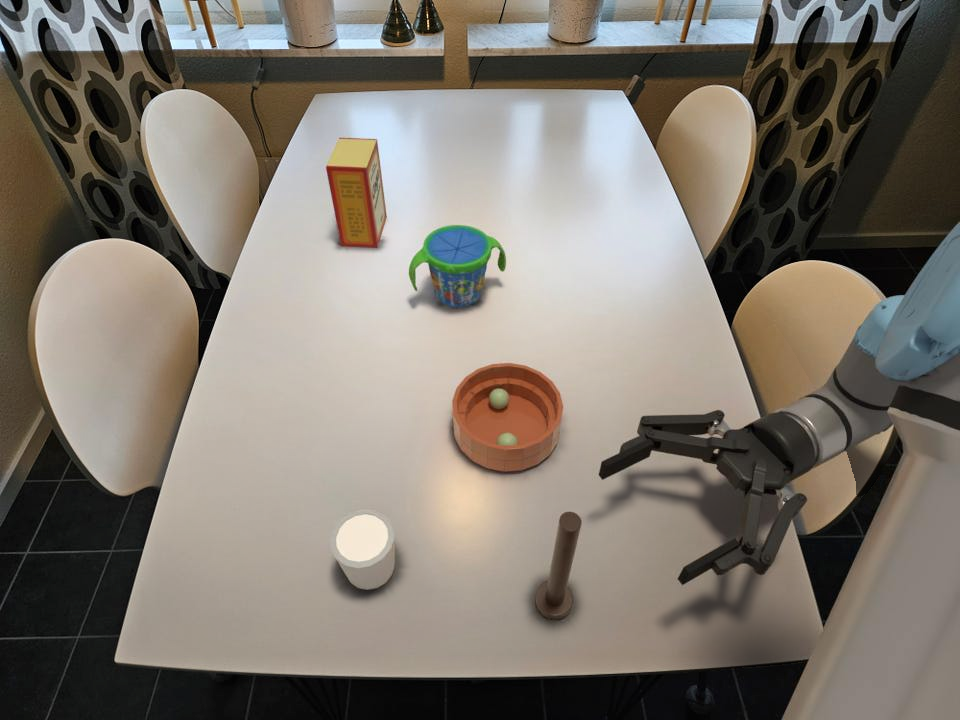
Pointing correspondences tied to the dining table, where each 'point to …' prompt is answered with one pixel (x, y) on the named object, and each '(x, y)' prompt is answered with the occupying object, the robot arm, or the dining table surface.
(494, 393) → the bead
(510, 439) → the bead
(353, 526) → the white cup
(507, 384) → the bowl
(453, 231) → the snack cup
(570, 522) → the stick
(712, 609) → the dining table surface
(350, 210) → the baking soda box
